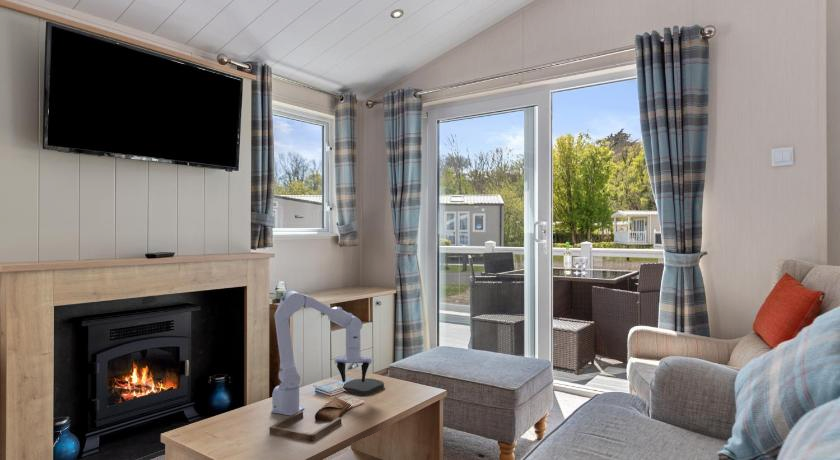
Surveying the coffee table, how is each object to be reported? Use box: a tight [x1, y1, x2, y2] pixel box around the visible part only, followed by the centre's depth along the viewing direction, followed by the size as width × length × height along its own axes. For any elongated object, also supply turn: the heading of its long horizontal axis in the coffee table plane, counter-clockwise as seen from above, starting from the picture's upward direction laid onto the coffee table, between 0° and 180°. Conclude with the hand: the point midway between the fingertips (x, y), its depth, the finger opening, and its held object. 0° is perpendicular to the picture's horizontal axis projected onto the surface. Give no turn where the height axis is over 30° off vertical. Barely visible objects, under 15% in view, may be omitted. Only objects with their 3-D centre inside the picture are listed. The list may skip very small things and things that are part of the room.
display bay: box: [269, 410, 342, 443], centre depth 170 cm, size 17×16×2 cm
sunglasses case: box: [314, 396, 352, 423], centre depth 184 cm, size 18×7×7 cm
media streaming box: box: [342, 377, 385, 397], centre depth 212 cm, size 15×15×3 cm
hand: (353, 381), depth 197 cm, fingers open, 7 cm apart
